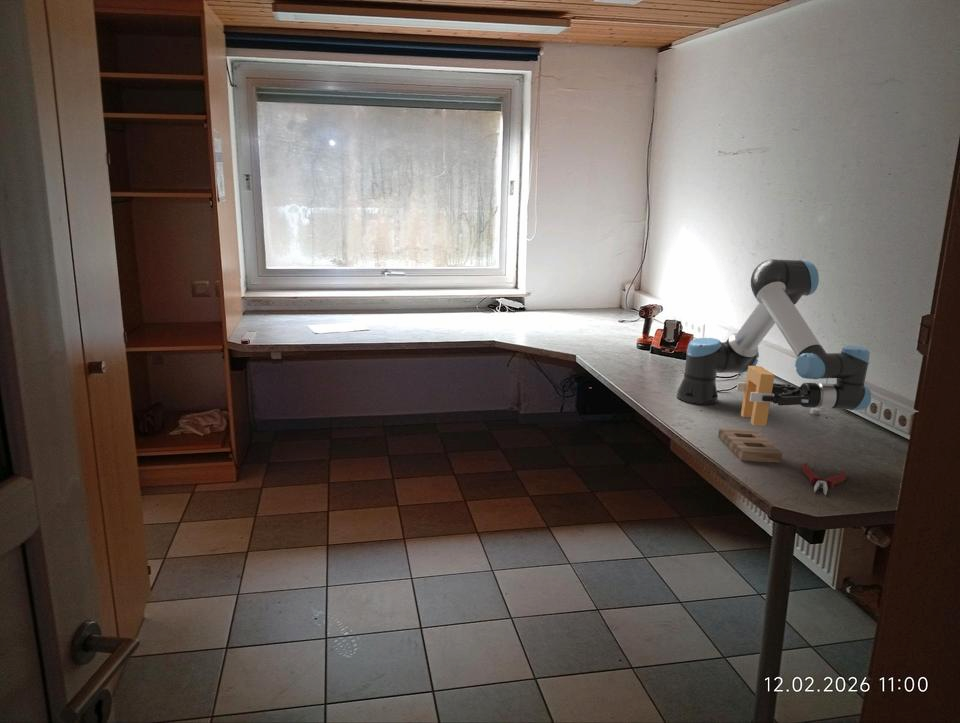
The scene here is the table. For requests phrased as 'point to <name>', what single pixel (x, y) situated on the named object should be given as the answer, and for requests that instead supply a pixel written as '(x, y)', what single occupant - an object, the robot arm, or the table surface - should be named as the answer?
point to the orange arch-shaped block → (760, 383)
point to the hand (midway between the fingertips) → (743, 391)
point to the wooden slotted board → (749, 445)
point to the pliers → (826, 482)
